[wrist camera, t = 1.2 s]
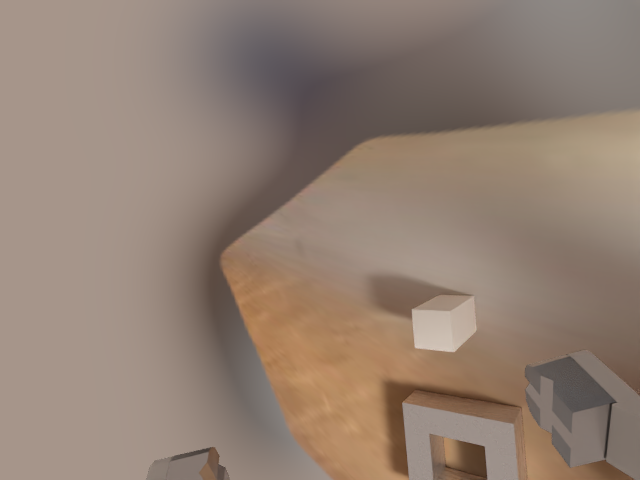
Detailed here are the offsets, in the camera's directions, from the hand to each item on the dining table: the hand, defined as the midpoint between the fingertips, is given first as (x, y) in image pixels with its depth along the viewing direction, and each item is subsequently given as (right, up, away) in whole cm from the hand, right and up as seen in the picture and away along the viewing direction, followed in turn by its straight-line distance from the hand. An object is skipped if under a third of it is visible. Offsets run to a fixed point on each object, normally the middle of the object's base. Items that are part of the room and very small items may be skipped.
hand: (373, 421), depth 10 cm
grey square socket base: (+16, -20, +37) cm, 45 cm away
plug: (+14, -4, +36) cm, 39 cm away
